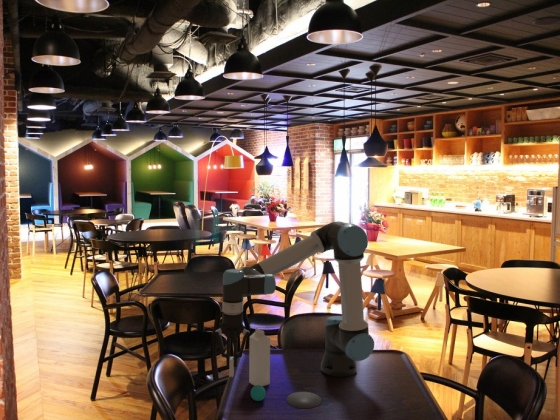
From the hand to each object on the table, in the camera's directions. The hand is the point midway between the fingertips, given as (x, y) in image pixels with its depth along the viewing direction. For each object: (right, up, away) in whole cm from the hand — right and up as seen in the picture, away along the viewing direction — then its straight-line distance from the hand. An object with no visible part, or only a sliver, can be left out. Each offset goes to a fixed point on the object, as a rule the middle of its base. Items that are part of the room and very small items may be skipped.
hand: (231, 375), depth 181 cm
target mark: (+27, -10, +2) cm, 29 cm away
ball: (+10, -7, +1) cm, 12 cm away
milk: (+10, -9, +16) cm, 20 cm away
